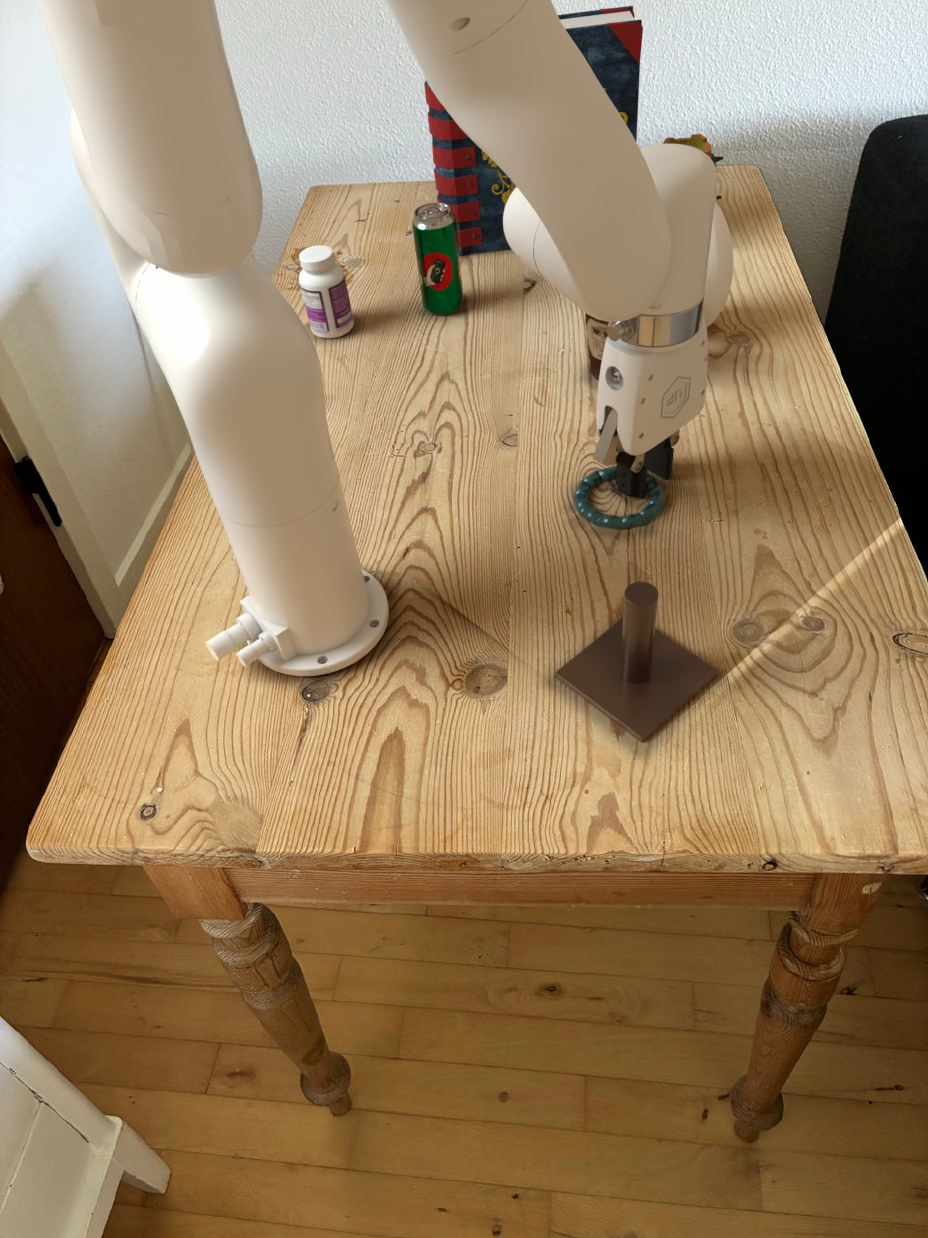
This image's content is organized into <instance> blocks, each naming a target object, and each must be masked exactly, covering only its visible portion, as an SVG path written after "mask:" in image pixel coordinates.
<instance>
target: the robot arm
mask: <svg viewBox="0 0 928 1238" xmlns="http://www.w3.org/2000/svg"><path fill="white" fill-rule="evenodd" d="M384 1H385V3H386V5H387V6H388V8H389V10H390V12H391V14H392V16H393V18H394V20H395V22H396V24H397V25H398V27H399V30H400V31H401V33H402V35H403V37H404V39H405V41H406V43H407V45H408V46H409V49H410V51H411V53H412V55H413V57H414V59H415V60H416V63H417V64H418V66H419V68H420V71H421V72H422V74H423V76H424V78H425V81H426V80H427V82H428V84H429V86H430V88H431V89H432V91H433V92H434V94H435V95H436V97H437V98H438V100H439V101H440V103H441V104H442V105H443V106H444V108H445V109H446V110H447V112H448V113H449V114H450V116H451V117H452V118H453V119H454V121H455V122H456V123H457V124H458V126H459V127H460V128H461V129H462V130H463V131H464V132H465V134H466V135H467V136H468V137H469V138H470V139H471V140H472V141H473V142H474V143H475V144H476V145H477V146H478V147H480V148H481V149H482V150H483V151H484V152H485V153H486V154H487V155H488V156H489V157H490V158H491V159H492V160H493V161H494V162H495V163H496V164H497V165H498V166H499V167H500V168H501V169H502V170H503V171H504V172H505V174H506V175H507V176H508V177H509V178H510V179H511V180H512V182H513V183H514V184H515V185H516V186H517V187H516V188H515V189H514V190H513V192H512V193H511V195H510V197H509V199H508V201H507V203H506V206H505V209H504V214H503V228H504V233H505V237H506V240H507V242H508V244H509V246H510V247H511V252H513V253H514V254H515V256H516V257H517V258H518V259H519V260H520V261H521V262H522V263H524V265H526V266H527V267H528V268H529V269H531V270H532V271H533V273H536V275H538V276H539V277H540V278H542V279H543V280H544V281H545V282H546V283H548V284H549V285H551V286H552V287H554V288H555V289H556V291H558V292H560V293H561V294H562V295H563V296H565V297H566V298H567V299H568V300H569V301H570V302H572V303H573V304H574V305H575V306H576V307H578V309H580V310H581V311H582V312H583V313H584V314H585V313H587V314H588V315H590V316H592V317H594V318H596V319H599V320H603V321H607V322H609V326H608V328H607V335H608V337H607V338H606V342H605V347H604V352H603V357H602V363H601V369H600V376H599V381H598V384H597V396H596V417H595V418H596V430H597V435H598V437H599V439H598V442H597V444H596V447H595V450H594V454H593V456H592V458H593V460H594V461H596V462H598V463H599V464H601V465H602V466H616V479H615V485H616V486H617V489H618V491H619V492H620V493H621V494H623V495H625V496H630V495H631V494H632V495H633V496H635V497H637V498H638V499H640V500H643V499H644V498H645V497H646V492H647V491H646V480H647V474H648V471H649V472H650V473H652V474H654V475H656V476H657V477H659V478H661V479H663V480H664V481H666V480H669V479H671V478H672V476H673V475H672V474H673V464H674V455H675V454H674V453H675V448H674V447H675V446H676V445H678V443H679V441H680V438H681V437H680V435H681V434H680V431H681V428H683V427H684V426H686V425H687V424H688V423H690V422H691V421H693V420H694V419H695V418H697V416H698V415H699V414H700V413H701V411H702V410H703V408H704V405H705V401H706V394H707V384H708V383H707V382H708V368H709V366H708V365H709V337H708V336H709V335H708V327H707V326H706V320H705V316H704V314H703V304H704V295H705V285H706V276H707V267H708V259H709V250H710V241H711V231H712V222H713V213H714V204H715V195H716V196H717V194H716V193H717V182H718V172H717V173H716V170H717V168H716V167H715V165H714V163H713V161H712V160H711V158H710V157H709V156H708V155H707V154H706V153H704V152H703V151H701V150H699V149H697V148H695V147H692V146H688V145H682V144H663V143H657V144H656V143H655V144H651V145H646V146H643V147H640V146H639V144H638V142H636V141H635V139H634V137H633V135H632V133H631V132H630V130H629V128H628V127H627V125H626V123H625V122H624V120H623V118H622V117H621V115H620V114H619V112H618V111H617V109H616V107H615V106H614V104H613V103H612V101H611V100H610V98H609V97H608V95H607V94H606V92H605V91H604V89H603V88H602V86H601V84H600V83H599V81H598V79H597V78H596V76H595V74H594V73H593V71H592V69H591V68H590V66H589V64H588V63H587V61H586V59H585V58H584V56H583V55H582V53H581V52H580V50H579V49H578V47H577V46H576V44H575V43H574V41H573V40H572V38H571V37H570V35H569V34H568V33H567V31H566V29H565V28H564V26H563V25H562V23H561V21H560V19H559V17H558V15H559V14H558V13H557V10H556V8H555V5H554V3H553V1H552V0H384ZM36 2H37V4H38V8H39V10H40V13H41V16H42V19H43V23H44V25H45V28H46V31H47V34H48V37H49V40H50V43H51V46H52V49H53V53H54V55H55V58H56V59H55V60H56V62H57V64H58V65H57V66H58V67H59V71H60V74H61V77H62V78H61V79H62V81H63V83H64V86H65V89H66V92H67V93H68V97H69V99H70V103H71V110H70V116H69V125H68V126H69V127H68V128H69V129H68V131H69V132H68V133H69V143H70V144H69V145H70V150H71V154H72V157H73V161H74V164H75V168H76V170H77V172H78V175H79V179H80V182H81V184H82V187H83V190H84V191H85V194H86V197H87V199H88V202H89V204H90V207H91V210H92V212H93V215H94V217H95V219H96V220H95V221H96V223H97V225H98V227H99V230H100V232H101V235H102V237H103V240H104V242H105V245H106V247H107V250H108V252H109V255H110V258H111V261H112V262H113V265H114V268H115V270H116V273H117V275H118V277H119V280H120V282H121V286H122V287H123V290H124V293H125V295H126V297H127V299H128V302H129V305H130V307H131V310H132V312H133V314H134V316H135V318H136V319H135V320H136V321H137V323H138V325H139V327H140V329H141V332H142V333H143V335H144V337H145V339H146V341H147V343H148V345H149V347H150V348H151V350H152V353H153V356H154V357H155V358H154V359H155V360H156V362H157V363H158V366H159V367H160V370H161V371H162V374H163V375H164V378H165V379H166V382H167V384H168V386H169V388H170V390H171V393H172V395H173V397H174V400H175V403H176V404H177V406H178V409H179V411H180V414H181V416H182V419H183V421H184V424H185V426H186V429H187V432H188V435H189V438H190V441H191V444H192V447H193V450H194V453H195V455H196V456H195V457H196V459H197V462H198V464H199V467H200V470H201V472H202V473H201V474H202V475H203V479H204V481H205V484H206V486H207V489H208V492H209V494H210V497H211V500H212V502H213V505H214V507H215V508H216V510H217V513H218V516H219V519H220V521H221V524H222V527H223V529H224V531H225V534H226V537H227V540H228V542H229V544H230V547H231V551H232V552H233V555H234V558H235V561H236V563H237V566H238V568H239V571H240V573H241V576H242V579H243V582H244V585H245V588H246V590H247V593H248V595H247V596H246V597H244V598H242V599H240V600H239V603H240V606H241V608H242V611H243V613H242V614H240V615H239V616H238V617H236V618H235V624H233V625H232V626H230V627H229V628H227V629H226V630H222V631H220V632H219V633H217V634H216V635H214V636H213V637H211V638H209V639H208V640H207V641H205V646H206V649H207V650H208V651H209V653H210V654H211V656H212V657H213V658H214V659H215V660H216V662H220V661H222V660H223V659H224V658H226V657H228V656H229V655H231V654H232V653H233V652H235V651H236V650H237V649H238V648H239V647H241V646H242V645H243V644H245V643H247V645H246V646H245V647H243V648H242V649H240V650H239V651H237V652H235V656H236V658H237V659H238V661H239V663H240V664H241V665H242V666H243V667H245V668H247V667H248V666H249V665H250V664H252V663H253V662H255V661H257V660H258V661H259V662H260V663H261V664H262V665H263V666H265V667H266V668H269V669H271V670H273V671H274V672H277V673H281V674H284V675H288V676H294V677H295V676H296V677H316V676H321V675H328V674H331V673H333V672H337V671H339V670H344V669H345V668H347V667H349V666H351V665H353V664H355V663H356V662H358V661H360V660H361V659H362V658H364V657H365V656H367V655H368V654H369V653H370V652H371V651H372V650H373V649H374V648H375V647H376V646H377V644H378V643H379V642H380V640H381V639H382V637H383V636H384V634H385V631H386V629H387V627H388V624H389V619H390V606H389V602H388V597H387V593H386V591H385V589H384V587H383V585H382V584H381V582H379V580H378V579H377V578H376V576H374V575H372V574H371V573H370V572H368V571H366V570H365V569H362V565H361V561H360V557H359V551H358V548H357V544H356V540H355V536H354V531H353V527H352V523H351V520H350V514H349V510H348V507H347V502H346V498H345V494H344V490H343V486H342V482H341V478H340V477H341V476H340V472H339V468H338V467H337V463H336V462H337V461H336V459H335V454H334V450H333V445H332V441H331V436H330V432H329V426H328V425H329V424H328V420H327V414H326V404H325V403H326V402H325V390H324V389H325V388H324V379H323V371H322V366H321V361H320V359H319V358H320V357H319V354H318V352H317V349H316V347H315V344H314V342H313V340H312V338H311V336H310V334H309V332H308V330H307V328H306V325H304V323H303V321H302V319H301V318H300V316H299V315H298V314H297V312H296V310H295V309H294V308H293V306H292V305H291V303H290V302H289V301H288V299H286V297H285V296H284V294H283V293H282V292H281V291H280V289H279V288H278V287H277V286H276V285H275V283H274V282H273V280H271V279H270V278H269V276H268V275H267V274H266V273H265V271H264V270H263V269H262V267H261V266H260V265H259V263H258V262H257V260H256V257H255V255H254V252H253V249H252V248H253V247H254V246H255V243H256V240H257V238H258V236H259V233H260V229H261V225H262V221H263V211H264V209H263V208H264V206H263V204H264V203H263V186H262V181H261V176H260V172H259V168H258V164H257V161H256V158H255V154H254V151H253V148H252V145H251V141H250V138H249V136H248V131H247V129H246V125H245V121H244V117H243V113H242V110H241V107H240V102H239V98H238V95H237V91H236V88H235V87H236V86H235V84H234V80H233V75H232V73H231V69H230V65H229V60H228V57H227V54H226V50H225V45H224V42H223V41H224V40H223V35H222V31H221V26H220V22H219V17H218V11H217V6H216V1H215V0H36Z"/></svg>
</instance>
